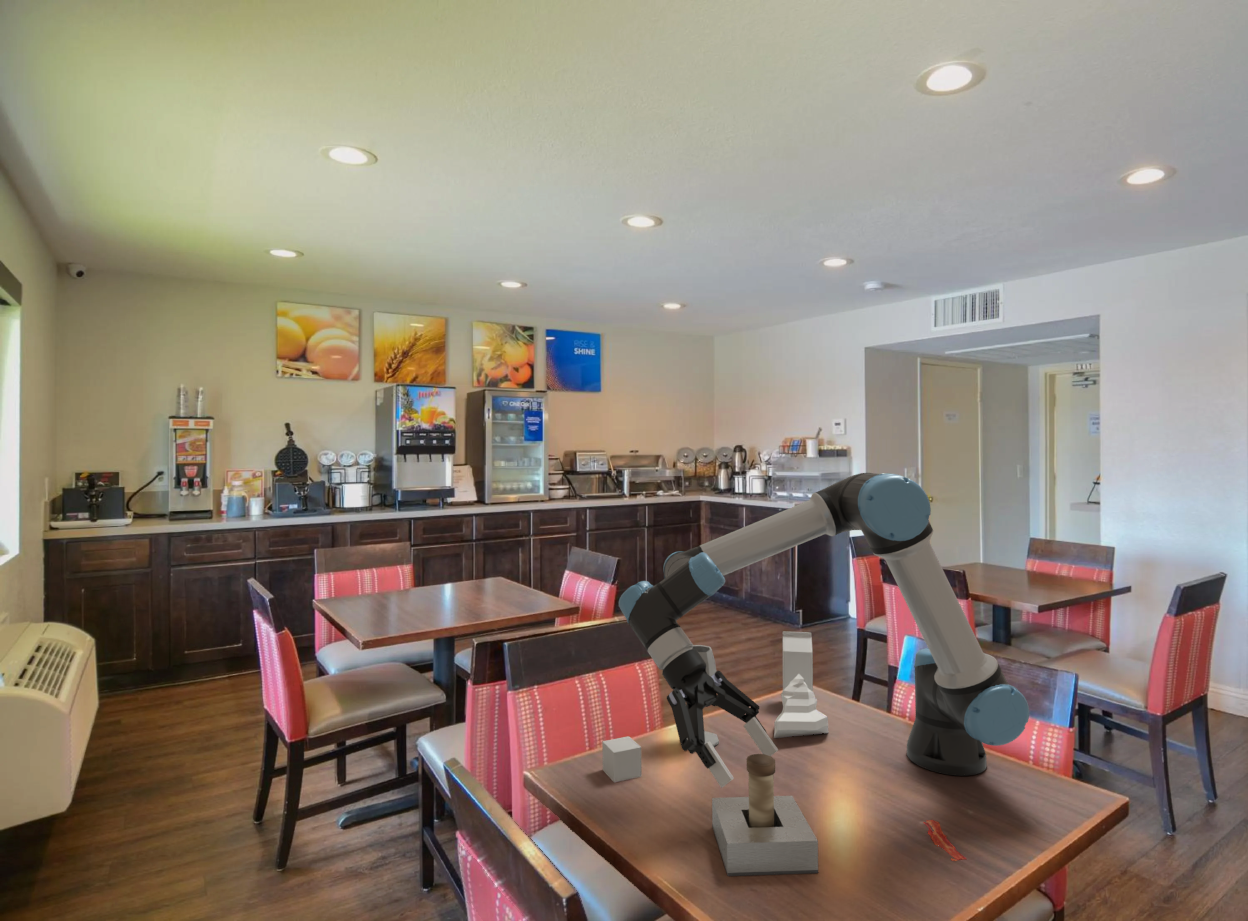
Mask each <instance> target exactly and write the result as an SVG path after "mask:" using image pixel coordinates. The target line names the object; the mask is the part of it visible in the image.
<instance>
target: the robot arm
mask: <svg viewBox="0 0 1248 921" xmlns="http://www.w3.org/2000/svg"><path fill="white" fill-rule="evenodd" d="M931 510H932V508H931V504H930V499H929V497H928V495H927V493H926V491H925V490H924V489H923V488H922V486H921V485H920V484H919V483H917V482H916V481H914V480H912V479H910V478H909V477H907V476H903V475H901V474H897V473H888V472H887V473H875V472H873V473H872V472H859V473H856V474H853V475H851V476H848V477H846V478H844V479H842V480H840V481H837V482H836V483H834V484H830V486H829V485H828V486H827V487H825V488H822V489H819V490H818V491H815V492H813V493H812V494H811V497H810V498H809V500H807V501H804V502H802V503H799V504H797V505H795V506H791V507H789V508H787V509H785V510H781V511H780V512H777V513H775V514H773V515H771V516H768V517H766V518H763V519H761V520H758V521H756V522H753V523H751V524H748V525H746V526H744V527H741V528H739V529H736V530H734V531H731V532H729V533H727V534H724V535H722V536H720V537H717V538H715V539H712V540H709V541H707V542H705V543H703V544H700V545H698V546H696V547H693V548H690V549H687V550H685V551H684V550H683V551H679V550H678V551H675V552H673V553H671V554H670V555H668V556H667V557H666V559H665V560H664V563H663V569H662V570H663V572H662V573H663V579H662V580H661V581H660V582H658V583H656V584H655V585H653V584H651V583H650V581H648V580H641V581H638V582H637V583H635V584H634V585H631V586H629V587H627V589H626V590H625V591H624V592H623V593H622V594H621V595H620V597H619V599H618V608H619V609H620V611H621V612H622V614H623V616H624V618H625V619H626V622H627V624H628V625H629V627H630V628H631V629H632V631H633V632H634V634H635V636H636V637H637V638H638V640H639V641H640V643H641V644H642V645H643V647H644V648H645V651H646V652H647V653H648V654H649V656H650V657H651V659H652V661H653V662H654V663H655V665H656V666H657V668H658V669H659V670H660V671H662V674H661V675H662V676H663V678H664V680H665V681H666V682H667V684H668V685H669V687H670V688H671V689H672V691H671V692H670V693H669V694H668V695H666V700H667V702H668V705H669V706H670V708H671V710H672V716H673V719H674V721H675V722H674V723H675V728H676V731H677V734H678V735H677V736H678V738H679V742H680V746H681V749H682V750H683V752H689V753H690V754H692V755H693V754H694V753H696V754H697V756H698V757H699V759H700V761H701V762H702V764H703V765H704V767H705V768H706V769H709V772H710V773H711V775H712V776H713V778H714V779H715V780H716V783H717V784H718V785H719V787H720V788H721V789H723V788H724V787H725V786H727V785H728V784H729V783H730V782H732V780H734V779H735V777H734V776H733V774H732V773H731V771H730V770H729V768H728V767H727V765H726V764H725V763H724V760H723V759H722V758H721V756H720V754H719V753H718V751H717V750H716V749H715V746H714V747H713V745H712V744H711V742H710V741H709V742H707V743H706V744H704V743H705V735H704V731H705V725H704V724H705V722H704V711H703V710H704V709H705V708H708V707H710V706H712V707H718V708H720V709H722V710H723V711H725V712H726V713H729V714H730V715H732V716H733V717H736V718H737V719H739V720H740V721H742V722H743V723H745V724H744V725H743V728H744V729H745V730H746V732H747V733H748V734H749V736H750V737H751V739H752V740H753V742H754V744H756V746H757V748H758V750H760V752H761V754H765V755H768V756H771V757H773V755H775V754H776V753H777V752H778V751H779V749H778V747H777V746H776V744H775V743H774V742H773V739H772V738H770V736H769V735H768V733H767V730H766V729H765V727H764V726H763V724H762V723H761V721H760V720H759V719H758V717H757V715H758V714H759V713H760V711H759V710H760V706H759V704H757V703H756V702H754V700H752V699H751V698H750V697H749V696H748V695H747V694H745V693H744V692H743V691H742V690H741V689H739V688H738V687H736V685H735V684H733V683H732V682H731V681H729V680H728V679H727V678H726V676H725V675H724V674H723V673H722V672H721V670H716V671H717V672H716V673H715V674H713V675H712V676H709V675H708V674H707V672H706V663H705V661H704V660H703V659H702V657H701V656H700V654H699V653H698V651H697V650H695V649H693V645H694V643H693V642H692V641H691V640H690V638H689V637H688V635H687V634H686V633H685V630H683V628H682V627H681V626H680V623H678V622H677V621H678V620H679V619H681V618H682V617H683V616H685V615H686V614H687V613H689V612H690V611H691V610H693V609H695V608H696V607H697V606H699V605H700V604H701V603H703V602H704V601H706V600H707V599H708V598H710V597H712V596H714V595H715V594H716V593H717V591H719V590H720V589H721V588H722V587H723V586H724V585H725V583H726V578H725V576H726V575H729V574H731V573H734V572H737V571H738V570H741V569H743V568H746V567H748V566H750V565H754V564H755V563H757V562H760V561H763V560H765V559H767V558H769V557H772V556H774V555H775V556H776V555H777V554H780V553H782V552H784V551H785V552H786V551H787V550H789V549H792V548H795V547H796V546H799V545H801V544H802V545H803V544H804V543H806V542H809V541H812V540H813V539H816V538H818V537H819V538H820V537H821V536H823V535H827V536H830V537H835V536H836V535H839V534H842V533H846V532H849V531H850V532H852V531H861V532H862V534H863V536H864V538H865V540H866V542H867V544H868V547H869V549H870V550H871V552H872V553H873V555H874V556H877V557H879V558H881V559H884V560H885V562H886V565H887V567H888V569H889V571H890V572H891V574H892V577H893V578H894V581H895V583H896V585H897V586H898V589H899V591H900V593H901V595H902V597H903V599H904V601H905V603H906V605H907V607H908V610H909V612H910V613H911V616H912V618H913V619H914V622H915V624H916V626H917V628H918V629H919V632H920V634H921V636H922V638H923V640H924V643H925V645H926V648H921V649H919V650H917V652H916V653H915V656H914V657H915V658H914V665H913V668H914V692H915V693H914V695H915V696H914V701H915V702H914V703H915V704H914V705H915V707H914V708H915V709H914V710H915V719H914V721H913V724H912V727H911V730H910V733H909V736H908V740H907V741H906V755H907V758H908V759H909V760H910V761H911V763H913V764H916V765H917V766H919V767H921V768H923V769H926V770H928V771H931V772H934V773H939V774H943V775H944V774H945V775H951V776H961V777H962V776H963V777H964V776H966V777H967V776H973V775H979V774H981V773H983V772H984V771H986V769H987V764H988V762H987V753H986V749H985V748H984V745H988V746H998V747H999V746H1003V745H1007V744H1009V743H1012V742H1013V741H1015V740H1016V739H1017V738H1019V737H1020V736H1021V735H1022V733H1023V732H1024V731H1025V729H1026V727H1025V726H1026V724H1028V722H1029V720H1030V719H1029V718H1030V706H1029V704H1028V701H1027V699H1026V697H1025V695H1024V694H1023V693H1022V692H1020V690H1019V689H1018V688H1017V687H1015V686H1013V685H1011V684H1009V682H1008V680H1007V679H1006V676H1005V675H1004V673H1003V670H1002V668H1001V666H1000V664H999V662H998V660H997V659H996V657H994V656H993V655H990V654H988V653H985V652H983V649H982V647H981V644H980V643H979V641H978V639H977V637H976V635H975V633H974V631H973V628H972V626H971V625H970V623H969V620H968V618H967V616H966V614H965V613H964V609H963V608H962V606H961V604H960V602H959V600H958V598H957V596H956V593H955V592H954V590H953V588H952V586H951V583H950V582H949V580H948V577H947V575H946V573H945V571H944V569H943V567H942V565H941V563H940V561H939V559H938V556H937V554H936V553H935V551H934V549H933V546H932V544H931V542H930V540H931V538H932V535H933V533H934V528H933V527H932V525H931V522H930V516H931V514H932V513H931V512H932V511H931ZM704 707H705V708H704ZM703 708H704V709H703ZM687 738H688V740H687ZM983 744H984V745H983Z"/></svg>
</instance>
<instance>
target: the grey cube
mask: <svg viewBox="0 0 1248 921" xmlns="http://www.w3.org/2000/svg"><path fill="white" fill-rule="evenodd" d="M601 746H602V771H603V772H604V773H605V774H606V776H608V778H609V779H611V781H612V782H613V783H618V782H623V781H628V780H633V779H636V778H637V779H638V778H640V777H642V746H641V745H640V744H639V743H637V742H636V741H635V740H634V739H633V738H632V737H630V736H628V735H627V736H623V737H617V738H613V739H607V740H603V741H602V745H601Z"/></svg>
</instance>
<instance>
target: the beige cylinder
mask: <svg viewBox="0 0 1248 921" xmlns="http://www.w3.org/2000/svg"><path fill="white" fill-rule="evenodd" d="M746 771H747V772H748V797H749V828H760V827H774V796H775V795H774V794H775V792H774V790H775V788H774V784H775V782H774V779H775V777H774V775H775V773H776V760H775V758H774V757H773V756H768V755H765V754H763V753H753V754H750V755H748V756H746Z"/></svg>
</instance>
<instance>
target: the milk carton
mask: <svg viewBox="0 0 1248 921" xmlns="http://www.w3.org/2000/svg"><path fill="white" fill-rule="evenodd" d="M812 637H813V636H812V632H805V631H804V632H803V631H782V691H783V690H784V689H785V688H786V687H787V686H788V685H789V684H790V682H791V681H792V680H793V679H794V678H795V677H796V676H797V675H798V674H800V675H801V676H802V677H803V678H804V682H805V683H806V685H807V687H808V689H810V690H811V691H812V692H814V691H813V690H814V684H813V683H814V676H813V675H814V672H813V671H814V670H813V668H814V667H813V666H814V664H813V655H814V653H813V638H812Z"/></svg>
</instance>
